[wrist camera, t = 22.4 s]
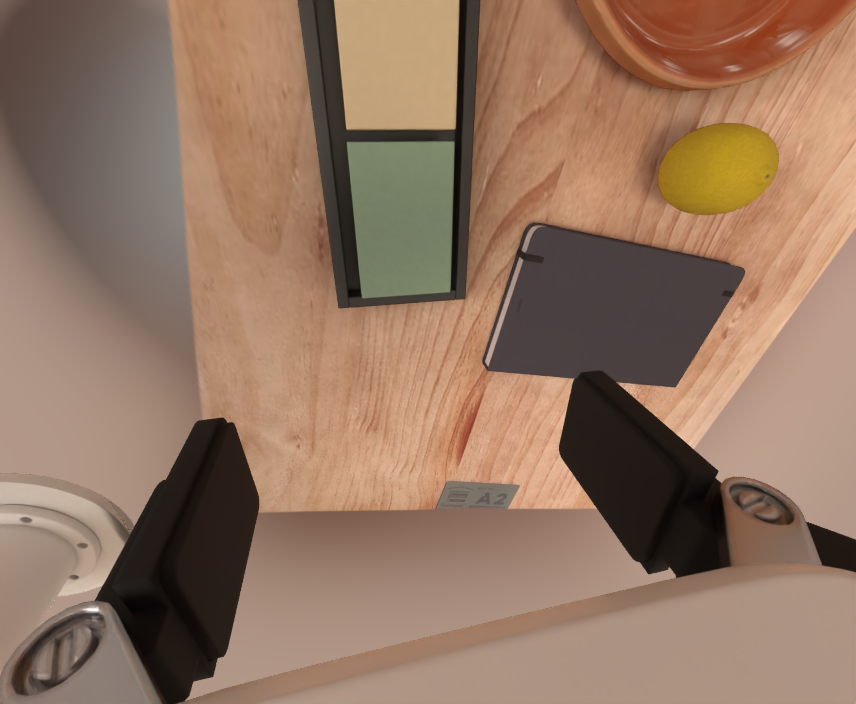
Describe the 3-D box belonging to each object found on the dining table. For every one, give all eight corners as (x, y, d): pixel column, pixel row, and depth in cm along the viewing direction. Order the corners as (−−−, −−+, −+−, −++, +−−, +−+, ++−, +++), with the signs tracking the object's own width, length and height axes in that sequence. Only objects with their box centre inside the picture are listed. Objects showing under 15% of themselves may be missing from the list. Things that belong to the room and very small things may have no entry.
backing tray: (339, 298, 29) (338, 308, 27) (284, -117, 18) (278, -143, 17) (459, 290, 31) (465, 299, 29) (474, -99, 20) (486, -121, 18)
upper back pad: (346, 130, 23) (346, 129, 20) (326, -78, 19) (321, -125, 15) (440, 130, 24) (456, 129, 21) (443, -68, 20) (463, -111, 16)
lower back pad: (360, 279, 28) (361, 298, 25) (346, 141, 24) (346, 142, 20) (438, 274, 29) (450, 292, 26) (439, 140, 24) (454, 141, 21)
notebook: (481, 361, 34) (665, 379, 40) (487, 371, 33) (676, 387, 39) (527, 220, 29) (733, 263, 34) (536, 224, 27) (749, 269, 33)
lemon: (660, 113, 27) (768, 105, 20) (716, 139, 28) (833, 139, 22) (621, 194, 29) (705, 211, 22) (675, 213, 31) (768, 235, 24)
